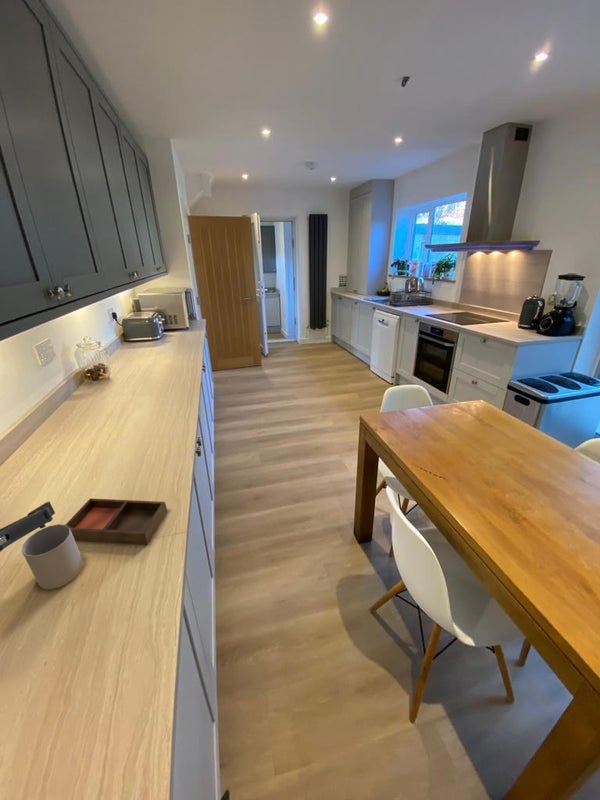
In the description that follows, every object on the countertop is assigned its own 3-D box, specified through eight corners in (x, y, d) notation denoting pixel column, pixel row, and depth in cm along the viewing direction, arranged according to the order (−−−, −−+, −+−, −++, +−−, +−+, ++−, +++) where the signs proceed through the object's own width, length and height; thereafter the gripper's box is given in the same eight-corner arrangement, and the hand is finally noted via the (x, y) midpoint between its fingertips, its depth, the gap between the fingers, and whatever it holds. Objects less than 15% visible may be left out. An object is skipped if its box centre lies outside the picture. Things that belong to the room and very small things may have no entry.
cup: (55, 594, 68) (39, 561, 63) (29, 582, 70) (11, 549, 66) (91, 561, 75) (79, 529, 71) (66, 551, 77) (53, 520, 73)
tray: (64, 540, 80) (60, 529, 79) (93, 508, 91) (90, 498, 89) (147, 544, 79) (144, 534, 78) (167, 511, 89) (165, 501, 88)
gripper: (-192, 666, 39) (-54, 575, 59) (34, 561, 45) (88, 511, 66) (-225, 613, 38) (-74, 539, 59) (9, 513, 44) (72, 478, 65)
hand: (12, 524), depth 62 cm, fingers open, 13 cm apart
